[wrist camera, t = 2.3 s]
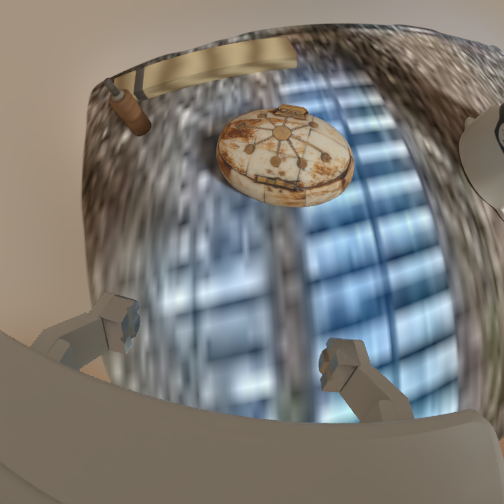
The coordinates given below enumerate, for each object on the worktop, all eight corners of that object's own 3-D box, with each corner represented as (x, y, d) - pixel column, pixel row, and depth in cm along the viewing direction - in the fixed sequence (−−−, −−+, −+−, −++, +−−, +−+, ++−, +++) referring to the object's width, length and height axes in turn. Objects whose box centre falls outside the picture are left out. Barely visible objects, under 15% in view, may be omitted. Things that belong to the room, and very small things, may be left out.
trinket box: (358, 198, 33) (378, 172, 25) (243, 236, 33) (233, 218, 25) (316, 114, 35) (323, 77, 27) (212, 145, 35) (198, 110, 28)
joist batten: (287, 46, 38) (287, 36, 35) (296, 67, 37) (297, 56, 34) (120, 86, 39) (114, 78, 37) (117, 110, 38) (110, 102, 36)
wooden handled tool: (151, 117, 37) (118, 68, 25) (151, 132, 37) (115, 83, 25) (134, 123, 37) (98, 77, 26) (133, 138, 37) (94, 93, 25)
